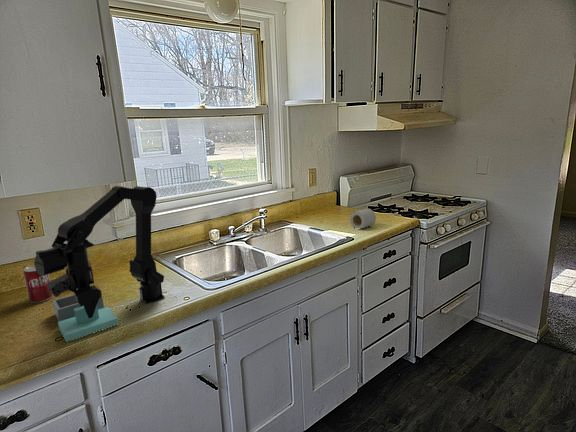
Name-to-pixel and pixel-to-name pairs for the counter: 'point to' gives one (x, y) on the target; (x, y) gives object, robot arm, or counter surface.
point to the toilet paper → (362, 218)
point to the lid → (86, 323)
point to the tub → (69, 307)
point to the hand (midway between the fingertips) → (86, 312)
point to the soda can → (36, 285)
